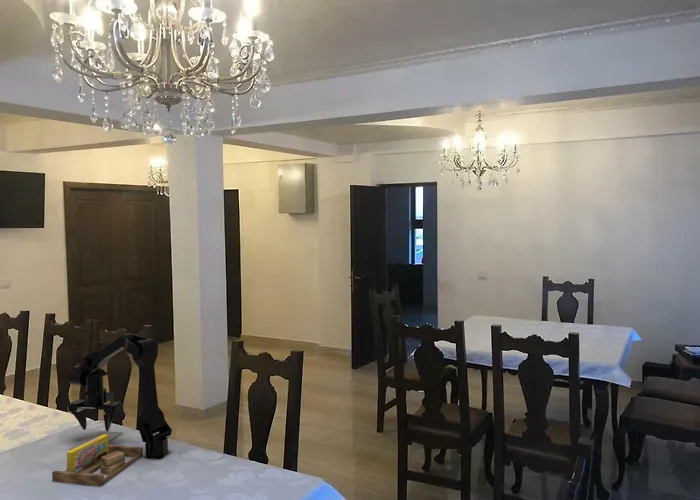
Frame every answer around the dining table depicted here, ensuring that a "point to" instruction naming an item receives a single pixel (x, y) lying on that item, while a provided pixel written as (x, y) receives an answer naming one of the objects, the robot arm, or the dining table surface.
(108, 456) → the offcut upper
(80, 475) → the rack
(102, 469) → the offcut lower
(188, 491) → the dining table surface
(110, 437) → the pad
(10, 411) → the dining table surface
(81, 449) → the candy box
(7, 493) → the dining table surface
